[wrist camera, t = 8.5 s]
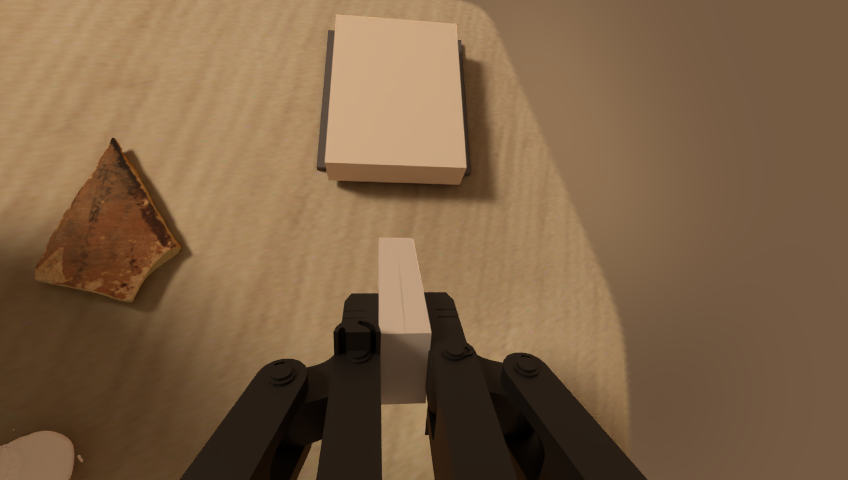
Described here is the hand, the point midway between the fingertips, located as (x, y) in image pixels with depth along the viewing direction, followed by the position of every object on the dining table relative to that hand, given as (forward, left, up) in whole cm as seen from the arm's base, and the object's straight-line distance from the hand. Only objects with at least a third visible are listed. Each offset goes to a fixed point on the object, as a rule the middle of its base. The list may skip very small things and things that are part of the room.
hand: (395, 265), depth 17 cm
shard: (-20, +5, -11) cm, 23 cm away
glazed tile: (0, +10, -8) cm, 13 cm away
